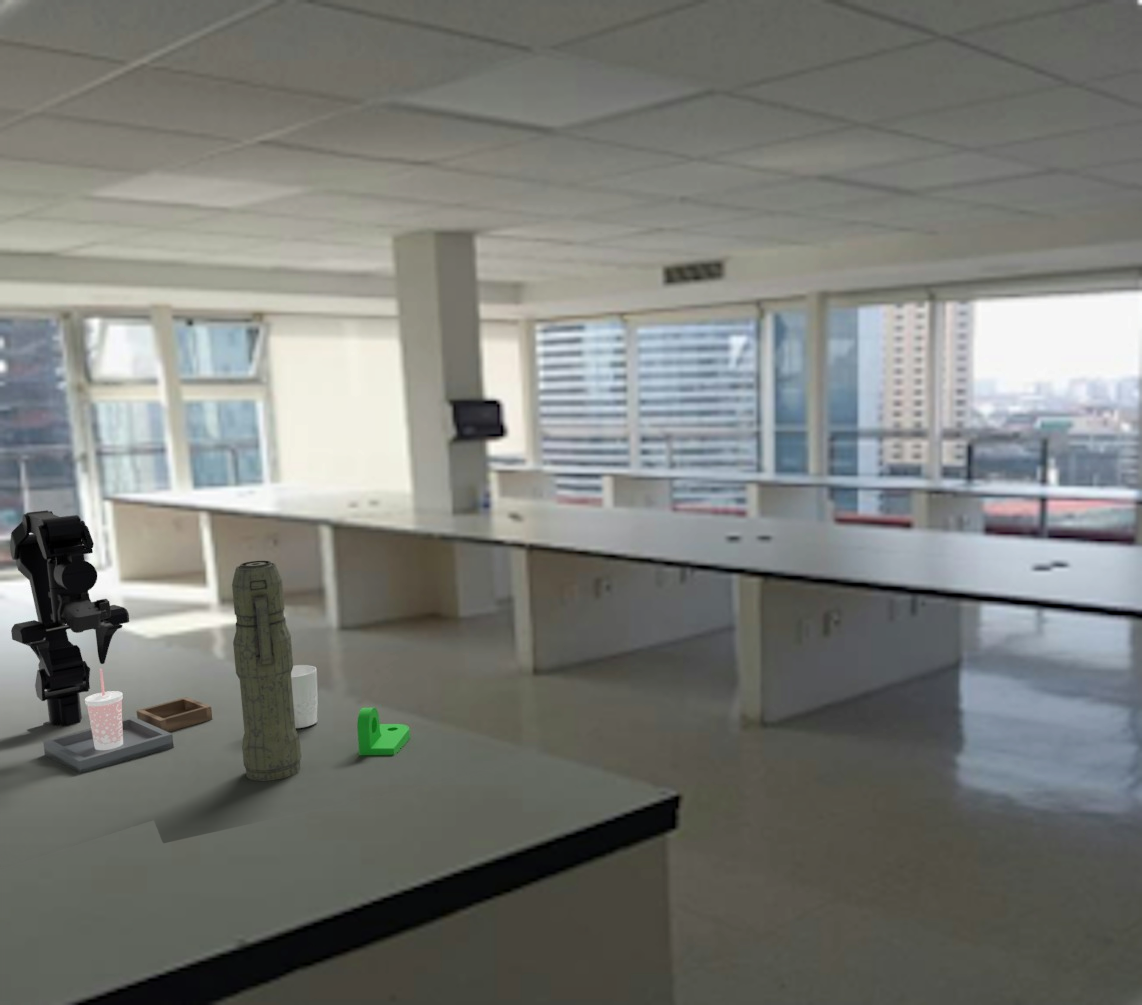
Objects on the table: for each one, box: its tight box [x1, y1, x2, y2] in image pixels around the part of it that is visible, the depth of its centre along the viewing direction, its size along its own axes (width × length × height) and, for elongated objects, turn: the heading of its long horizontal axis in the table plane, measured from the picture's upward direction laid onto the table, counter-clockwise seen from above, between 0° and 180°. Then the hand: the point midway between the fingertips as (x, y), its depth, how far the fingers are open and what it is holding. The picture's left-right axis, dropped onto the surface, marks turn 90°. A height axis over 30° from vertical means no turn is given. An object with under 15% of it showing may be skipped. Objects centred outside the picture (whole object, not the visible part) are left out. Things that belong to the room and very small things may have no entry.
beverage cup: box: [84, 667, 124, 750], centre depth 182 cm, size 6×6×14 cm
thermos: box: [231, 560, 302, 782], centre depth 166 cm, size 9×12×35 cm
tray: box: [42, 716, 175, 774], centre depth 183 cm, size 16×16×2 cm
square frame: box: [136, 696, 213, 733], centre depth 198 cm, size 10×10×2 cm
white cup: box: [291, 664, 319, 729], centre depth 193 cm, size 8×8×10 cm
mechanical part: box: [356, 707, 411, 756], centre depth 179 cm, size 12×6×8 cm, turn 173°
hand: (76, 669), depth 189 cm, fingers open, 9 cm apart
